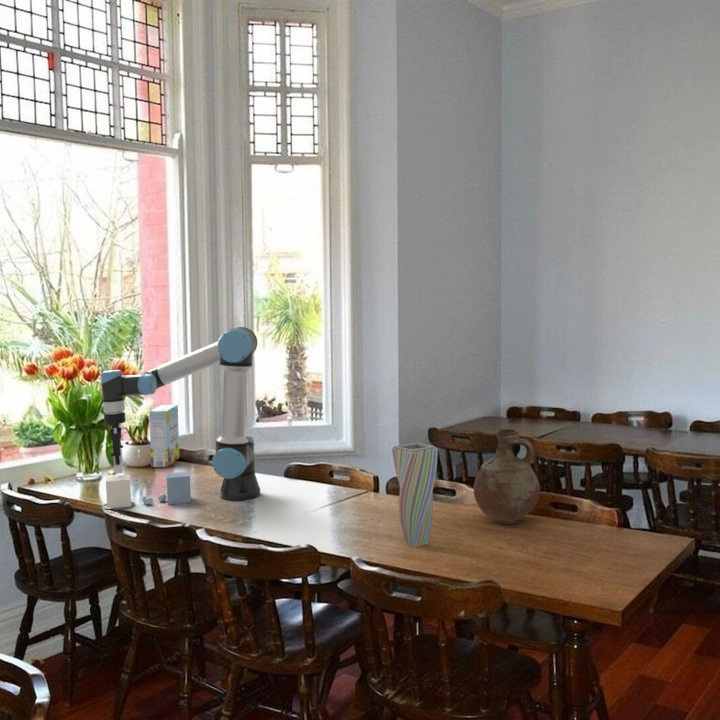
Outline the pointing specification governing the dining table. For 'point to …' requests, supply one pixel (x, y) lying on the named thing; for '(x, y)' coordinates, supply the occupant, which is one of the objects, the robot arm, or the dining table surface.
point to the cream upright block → (118, 491)
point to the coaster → (124, 507)
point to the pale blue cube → (178, 487)
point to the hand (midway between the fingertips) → (118, 469)
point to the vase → (415, 489)
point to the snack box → (164, 435)
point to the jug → (507, 481)
